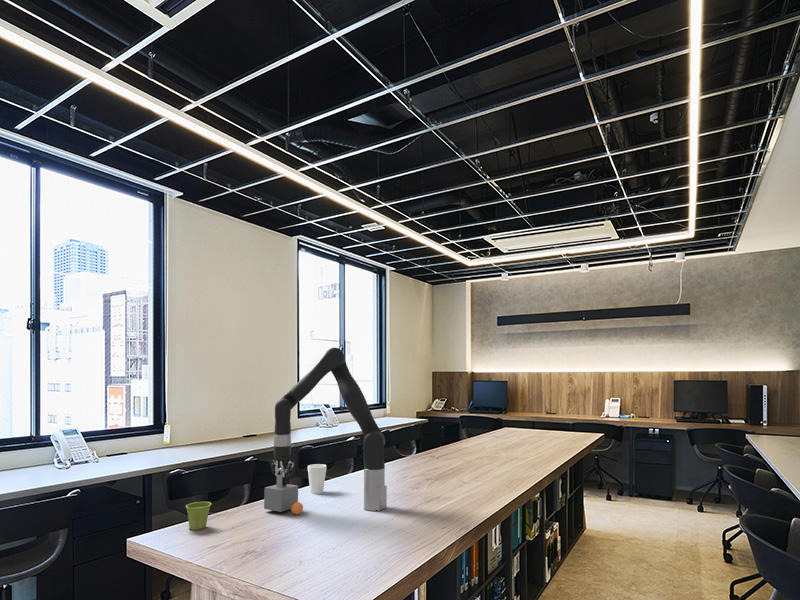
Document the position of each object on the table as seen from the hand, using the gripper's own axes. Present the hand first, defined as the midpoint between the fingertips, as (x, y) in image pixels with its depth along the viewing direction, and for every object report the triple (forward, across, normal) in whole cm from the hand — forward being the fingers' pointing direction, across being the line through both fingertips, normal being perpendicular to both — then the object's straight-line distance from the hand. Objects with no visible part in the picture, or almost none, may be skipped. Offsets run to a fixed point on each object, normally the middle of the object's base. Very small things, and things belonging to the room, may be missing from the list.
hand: (281, 484), depth 222 cm
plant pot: (+11, +11, +34) cm, 38 cm away
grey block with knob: (+10, 0, 0) cm, 10 cm away
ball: (+9, -10, 0) cm, 13 cm away
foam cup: (+11, +9, -34) cm, 37 cm away
